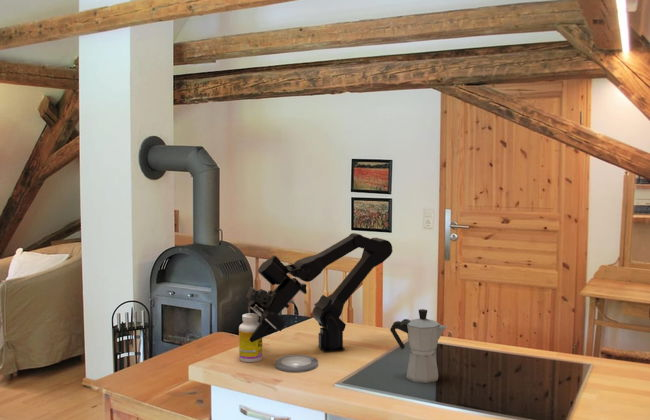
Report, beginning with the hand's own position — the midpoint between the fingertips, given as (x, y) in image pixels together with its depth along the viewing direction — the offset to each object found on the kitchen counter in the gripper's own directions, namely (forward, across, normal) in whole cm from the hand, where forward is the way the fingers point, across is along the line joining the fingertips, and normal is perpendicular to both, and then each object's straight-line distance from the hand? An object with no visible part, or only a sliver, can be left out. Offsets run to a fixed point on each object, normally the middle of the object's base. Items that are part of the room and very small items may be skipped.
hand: (246, 336), depth 176 cm
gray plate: (-4, +10, +13) cm, 17 cm away
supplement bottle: (+4, 0, +6) cm, 7 cm away
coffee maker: (-22, +31, +32) cm, 50 cm away
